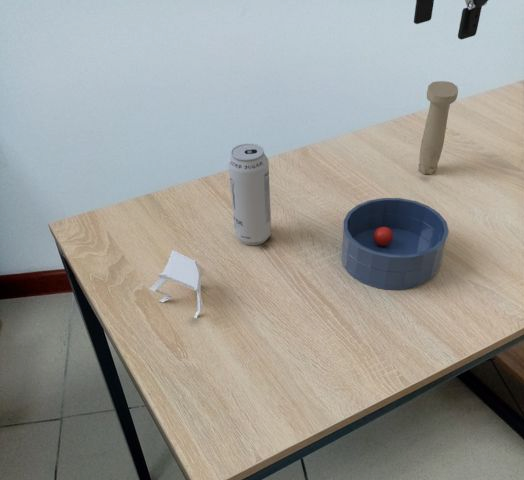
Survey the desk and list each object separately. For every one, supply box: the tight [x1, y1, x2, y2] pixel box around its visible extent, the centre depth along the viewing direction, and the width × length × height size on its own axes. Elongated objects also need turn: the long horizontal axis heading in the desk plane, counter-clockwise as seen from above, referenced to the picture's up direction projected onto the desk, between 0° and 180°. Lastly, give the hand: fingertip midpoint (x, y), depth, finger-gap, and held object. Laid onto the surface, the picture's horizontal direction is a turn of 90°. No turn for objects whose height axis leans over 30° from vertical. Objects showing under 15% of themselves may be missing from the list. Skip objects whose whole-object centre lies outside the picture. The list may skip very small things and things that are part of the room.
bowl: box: [340, 197, 450, 291], centre depth 81 cm, size 15×15×6 cm
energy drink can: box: [227, 143, 272, 246], centre depth 83 cm, size 6×6×15 cm
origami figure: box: [148, 248, 205, 319], centre depth 77 cm, size 12×8×5 cm
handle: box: [417, 80, 459, 175], centre depth 95 cm, size 5×6×15 cm
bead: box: [373, 227, 393, 246], centre depth 83 cm, size 3×3×3 cm
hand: (443, 29), depth 83 cm, fingers open, 9 cm apart
